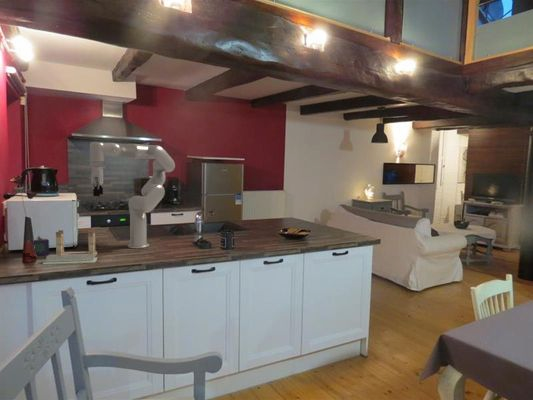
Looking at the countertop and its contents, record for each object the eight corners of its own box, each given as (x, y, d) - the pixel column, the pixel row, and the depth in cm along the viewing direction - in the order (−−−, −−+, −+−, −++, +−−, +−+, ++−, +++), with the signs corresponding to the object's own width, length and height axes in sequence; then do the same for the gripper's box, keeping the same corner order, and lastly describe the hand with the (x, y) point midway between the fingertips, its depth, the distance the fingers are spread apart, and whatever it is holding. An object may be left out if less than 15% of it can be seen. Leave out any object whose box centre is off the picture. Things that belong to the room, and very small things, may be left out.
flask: (29, 257, 198) (28, 237, 197) (29, 255, 201) (29, 236, 200) (49, 255, 202) (48, 236, 201) (49, 254, 205) (49, 235, 204)
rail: (48, 260, 191) (48, 254, 191) (94, 259, 196) (94, 253, 196) (46, 262, 188) (46, 256, 188) (93, 260, 194) (93, 254, 193)
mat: (48, 260, 194) (48, 259, 194) (97, 258, 200) (97, 257, 200) (42, 265, 185) (42, 263, 185) (94, 263, 191) (94, 262, 191)
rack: (57, 255, 204) (57, 230, 202) (97, 253, 209) (96, 229, 207) (54, 258, 198) (53, 232, 196) (94, 256, 203) (94, 231, 202)
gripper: (93, 164, 212) (94, 193, 214) (87, 164, 195) (87, 196, 197) (107, 164, 214) (108, 193, 216) (102, 165, 197) (102, 197, 199)
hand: (98, 195), depth 206 cm, fingers open, 9 cm apart
